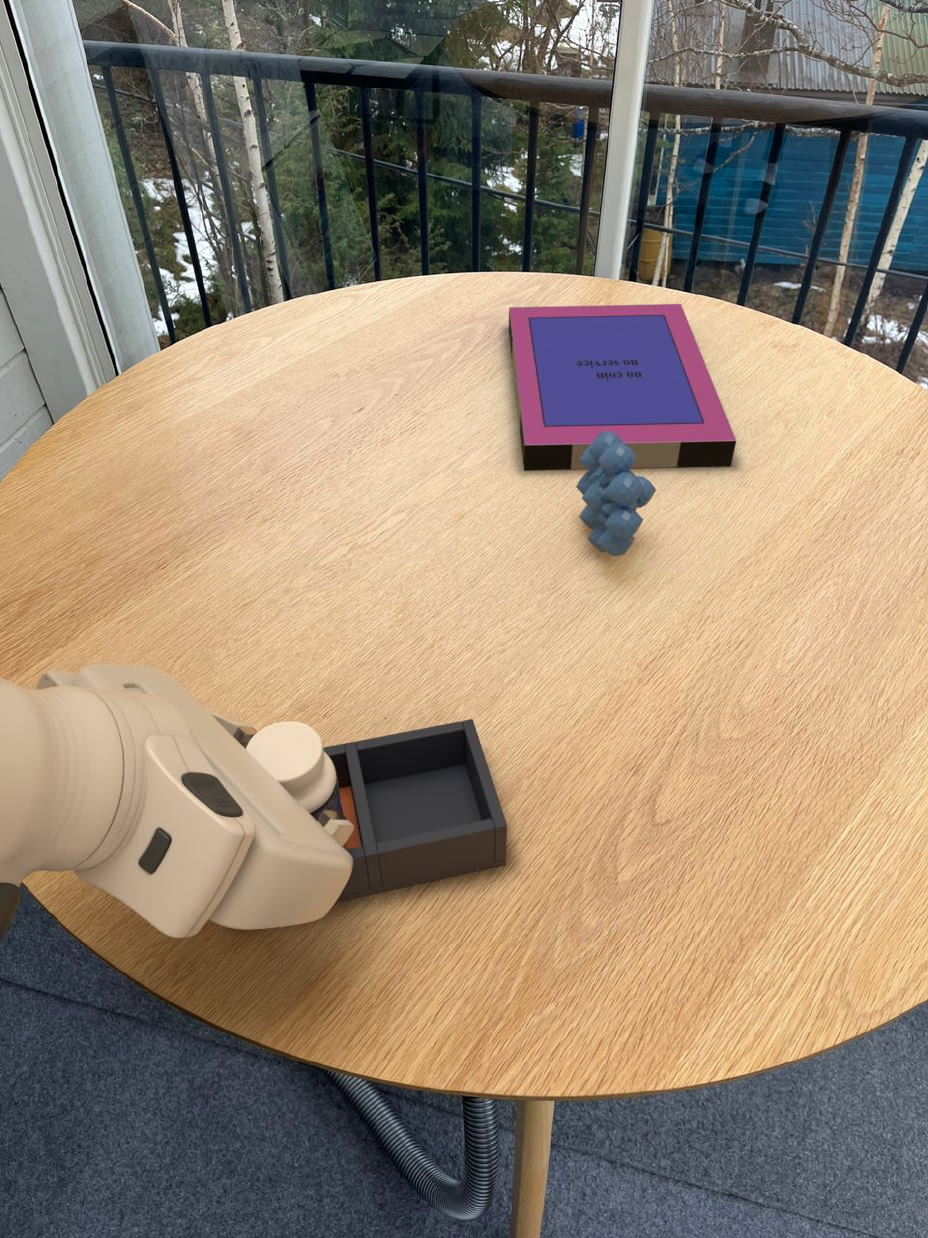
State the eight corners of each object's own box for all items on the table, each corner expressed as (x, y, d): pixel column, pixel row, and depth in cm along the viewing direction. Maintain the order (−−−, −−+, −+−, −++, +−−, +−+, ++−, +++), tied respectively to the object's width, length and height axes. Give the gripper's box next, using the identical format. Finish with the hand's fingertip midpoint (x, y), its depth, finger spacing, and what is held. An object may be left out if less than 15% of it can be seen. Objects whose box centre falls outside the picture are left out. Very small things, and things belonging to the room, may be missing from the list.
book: (680, 303, 115) (736, 440, 93) (677, 326, 117) (730, 465, 95) (509, 307, 115) (524, 445, 93) (508, 330, 117) (523, 470, 95)
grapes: (668, 583, 83) (690, 470, 74) (594, 593, 82) (607, 480, 73) (629, 504, 91) (644, 395, 82) (561, 512, 90) (569, 402, 82)
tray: (242, 923, 60) (229, 885, 57) (233, 806, 66) (221, 767, 63) (505, 864, 63) (507, 825, 59) (473, 758, 69) (472, 718, 66)
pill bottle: (364, 829, 64) (350, 736, 57) (313, 895, 60) (291, 804, 53) (297, 794, 66) (275, 700, 59) (244, 855, 62) (214, 763, 55)
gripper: (-2, 717, 54) (184, 732, 65) (191, 965, 43) (373, 930, 54) (47, 622, 53) (227, 655, 64) (256, 852, 42) (427, 841, 53)
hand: (295, 783), depth 59 cm, fingers open, 8 cm apart
